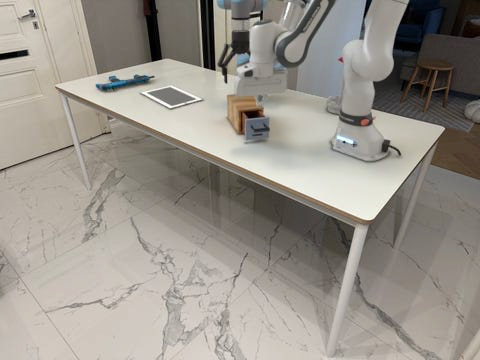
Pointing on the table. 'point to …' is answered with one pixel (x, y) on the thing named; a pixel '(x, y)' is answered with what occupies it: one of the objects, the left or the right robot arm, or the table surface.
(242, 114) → the drawer
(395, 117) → the table surface
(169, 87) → the tablet
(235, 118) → the cabinet
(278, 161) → the table surface
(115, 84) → the submachine gun
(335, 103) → the flag stand
